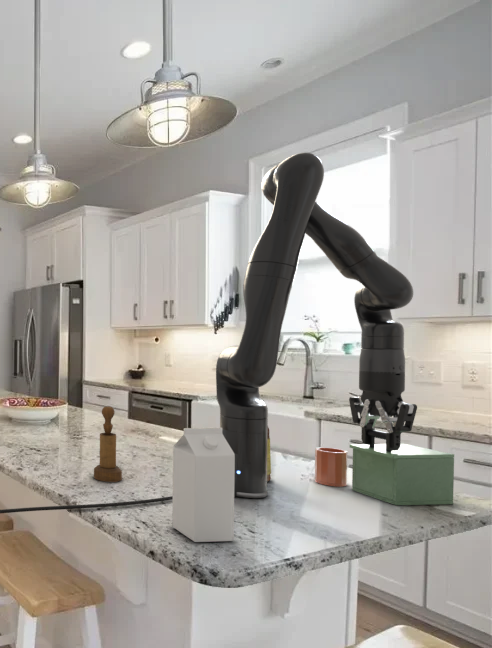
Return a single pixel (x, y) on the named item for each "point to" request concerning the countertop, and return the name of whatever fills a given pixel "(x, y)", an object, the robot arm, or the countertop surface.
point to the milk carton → (203, 485)
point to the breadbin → (403, 479)
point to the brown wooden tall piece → (108, 451)
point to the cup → (331, 466)
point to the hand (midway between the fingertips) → (380, 446)
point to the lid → (402, 452)
